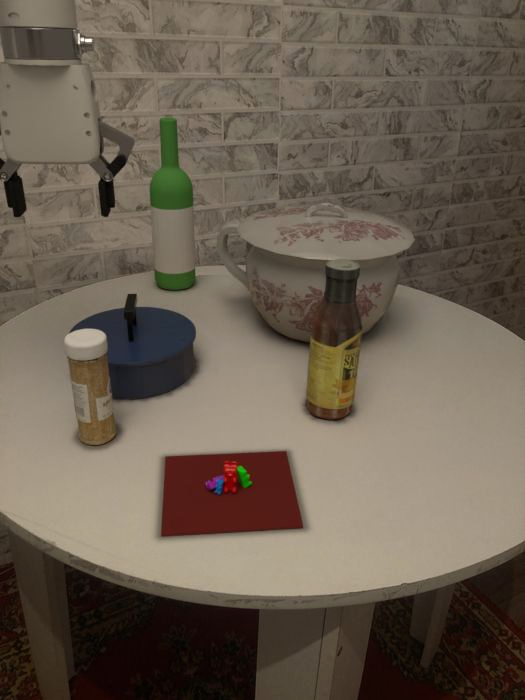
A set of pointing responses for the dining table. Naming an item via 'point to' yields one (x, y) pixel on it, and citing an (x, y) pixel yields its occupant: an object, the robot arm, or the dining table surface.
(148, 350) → the lid
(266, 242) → the chamber pot
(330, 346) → the sauce bottle
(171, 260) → the wine bottle
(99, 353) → the spice jar
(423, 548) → the dining table surface
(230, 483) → the gummy candies
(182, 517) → the cloth
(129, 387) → the pan
